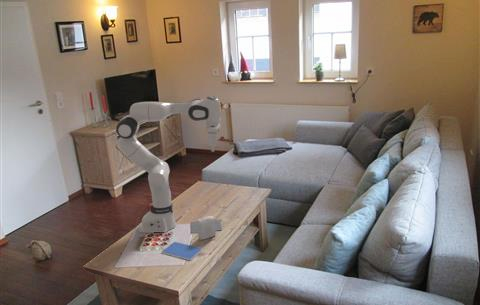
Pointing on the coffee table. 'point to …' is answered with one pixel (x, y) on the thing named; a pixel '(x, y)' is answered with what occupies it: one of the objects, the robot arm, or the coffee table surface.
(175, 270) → the coffee table surface
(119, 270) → the coffee table surface
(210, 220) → the photo printer
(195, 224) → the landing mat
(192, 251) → the tablet computer
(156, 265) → the coffee table surface
